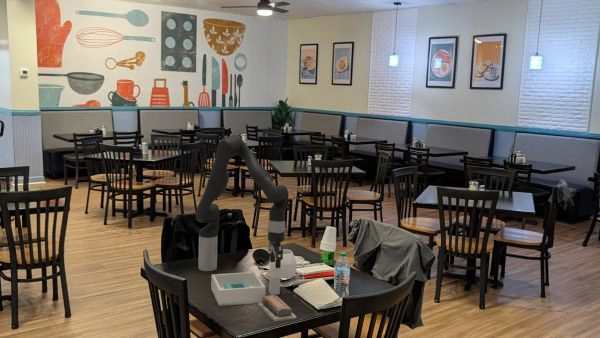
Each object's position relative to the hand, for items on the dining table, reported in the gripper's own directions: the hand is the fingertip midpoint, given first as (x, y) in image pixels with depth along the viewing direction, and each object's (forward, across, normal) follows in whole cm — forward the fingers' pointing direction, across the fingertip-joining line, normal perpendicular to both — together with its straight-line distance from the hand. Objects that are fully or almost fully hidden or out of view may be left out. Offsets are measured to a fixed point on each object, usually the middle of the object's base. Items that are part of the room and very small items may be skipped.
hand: (275, 264), depth 248 cm
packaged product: (+14, +20, -5) cm, 25 cm away
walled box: (+13, 0, -17) cm, 21 cm away
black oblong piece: (+13, -45, +7) cm, 48 cm away
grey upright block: (+13, 0, 0) cm, 13 cm away
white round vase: (+13, -19, +9) cm, 25 cm away
